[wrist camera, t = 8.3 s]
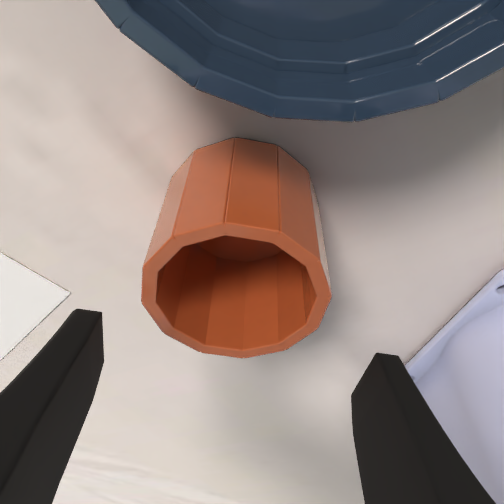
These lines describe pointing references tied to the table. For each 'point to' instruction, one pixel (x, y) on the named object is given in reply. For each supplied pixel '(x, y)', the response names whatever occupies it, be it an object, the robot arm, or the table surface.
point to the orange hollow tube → (238, 252)
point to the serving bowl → (320, 51)
